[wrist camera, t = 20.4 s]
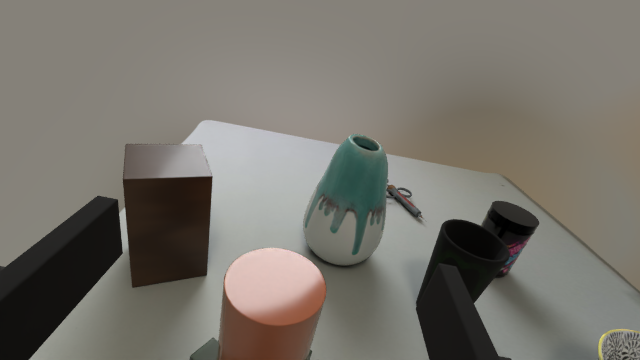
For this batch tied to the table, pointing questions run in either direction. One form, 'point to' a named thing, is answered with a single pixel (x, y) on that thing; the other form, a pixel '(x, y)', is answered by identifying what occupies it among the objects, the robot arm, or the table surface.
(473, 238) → the cup
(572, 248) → the table surface
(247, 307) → the orange glossy cylinder
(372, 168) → the vase
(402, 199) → the syringe
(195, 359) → the segmented green ring
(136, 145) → the dark brown rectangular block
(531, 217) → the supplement container
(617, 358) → the bowl
